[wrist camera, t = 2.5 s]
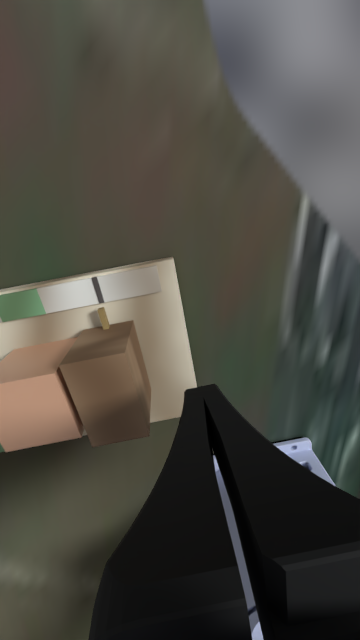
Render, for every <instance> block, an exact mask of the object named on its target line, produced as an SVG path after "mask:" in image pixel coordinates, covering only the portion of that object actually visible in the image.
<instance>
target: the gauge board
mask: <svg viewBox="0 0 360 640" xmlns="http://www.w3.org/2000/svg"><path fill="white" fill-rule="evenodd" d="M101 307H104V308H105V311H106V315H107V318H108V321H109V325H110V324H116V323H121V322H126V321H131V320H133V321H134V325H135V329H136V333H137V336H138V340H139V344H140V348H141V352H142V355H143V359H144V363H145V367H146V370H147V374H148V378H149V382H150V386H151V410H150V423H151V422H156V421H161V420H166V419H171V418H176V417H181V414H182V409H183V403H184V392H185V390H186V389H191V388H196V387H197V384H196V379H195V373H194V368H193V362H192V357H191V352H190V346H189V341H188V335H187V330H186V324H185V319H184V313H183V308H182V302H181V297H180V291H179V286H178V281H177V275H176V270H175V264H174V259H173V257H168V258H162V259H157V260H152V261H147V262H142V263H136V264H131V265H126V266H121V267H115V268H110V269H105V270H100V271H95V272H89V273H84V274H79V275H74V276H69V277H63V278H58V279H53V280H48V281H42V282H37V283H32V284H27V285H22V286H16V287H11V288H6V289H1V290H0V361H2V360H3V359H4V358H5V357H6V356H7V355H8V354H9V353H10V352H12V351H13V350H14V349H18V348H23V347H29V346H34V345H39V344H44V343H49V342H54V341H60V340H65V339H70V338H75V337H79V335H80V334H81V332H82V331H83V330H85V329H90V328H95V327H100V326H102V323H101V320H100V317H99V314H98V311H97V310H98V308H101ZM84 435H87V433H86V430H85V429H84V432H83V435H82V436H84ZM4 451H5V450H4V448H3V447H2V445H1V443H0V452H4Z"/></svg>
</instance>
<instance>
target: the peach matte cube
mask: <svg viewBox="0 0 360 640" xmlns="http://www.w3.org/2000/svg"><path fill="white" fill-rule="evenodd" d="M77 338H78V337H75V338H70V339H65V340H60V341H54V342H49V343H44V344H39V345H34V346H29V347H23V348H18V349H14V350H13V351H12V352H10V353H9V354H8V355H7V356H6V357H5V358H4V359H3V360H2V361H0V443H1V445H2V447H3V448H4V450H5V452H10V451H15V450H20V449H25V448H30V447H35V446H40V445H46V444H51V443H56V442H61V441H66V440H71V439H76V438H81V437H82V435H83V432H84V429H85V428H84V426H83V423H82V421H81V418H80V416H79V413H78V411H77V409H76V406H75V404H74V401H73V399H72V396H71V394H70V391H69V389H68V387H67V384H66V382H65V379H64V377H63V374H62V372H61V369H60V367H59V365H60V363H61V362H62V360H63V359H64V357H65V356H66V354H67V353H68V351H69V350H70V348H71V347H72V345H73V344H74V342H75V341H76V340H77Z"/></svg>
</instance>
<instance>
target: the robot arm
mask: <svg viewBox="0 0 360 640" xmlns="http://www.w3.org/2000/svg"><path fill="white" fill-rule="evenodd" d="M212 448H213V450H212ZM213 451H214V454H215V455H213ZM89 640H360V499H358V498H356V497H354V496H352V495H350V494H349V493H347V492H345V491H343V490H341V489H339V488H337V487H336V486H335V484H334V483H333V481H332V480H331V478H330V477H329V475H328V473H327V472H326V470H325V469H324V467H323V466H322V464H321V463H320V461H319V460H318V458H317V457H316V455H315V454H314V452H313V451H312V443H311V441H310V440H309V439H308V438H300V439H294V440H289V441H284V442H279V443H274V444H272V443H271V442H270V441H269V440H267V439H266V438H265V437H264V436H263V435H262V434H260V433H259V432H258V431H257V430H256V429H255V428H254V427H253V426H252V425H251V424H250V423H249V422H248V421H247V420H246V419H245V418H244V417H243V416H242V415H241V414H240V413H239V412H238V411H237V410H236V409H235V408H234V407H233V406H232V404H231V403H230V402H229V401H228V400H227V398H226V397H225V396H224V395H223V393H222V392H221V391H220V389H219V388H218V386H217V385H215V384H211V385H206V386H201V387H196V388H191V389H186V390H185V392H184V403H183V409H182V414H181V418H180V422H179V426H178V429H177V432H176V435H175V438H174V441H173V444H172V447H171V450H170V453H169V455H168V458H167V460H166V462H165V465H164V467H163V469H162V471H161V473H160V475H159V478H158V480H157V482H156V484H155V486H154V488H153V490H152V492H151V493H150V495H149V497H148V499H147V501H146V502H145V504H144V506H143V507H142V509H141V511H140V513H139V514H138V516H137V518H136V519H135V521H134V523H133V524H132V526H131V527H130V529H129V531H128V532H127V533H126V535H125V536H124V538H123V539H122V541H121V542H120V544H119V545H118V547H117V548H116V550H115V551H114V553H113V554H112V555H111V557H110V558H109V560H108V561H107V563H106V566H105V569H104V572H103V575H102V578H101V582H100V585H99V589H98V593H97V597H96V601H95V605H94V609H93V615H92V621H91V627H90V634H89Z"/></svg>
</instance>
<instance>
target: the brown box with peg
mask: <svg viewBox="0 0 360 640" xmlns="http://www.w3.org/2000/svg"><path fill="white" fill-rule="evenodd" d="M97 311H98V314H99V317H100V320H101V323H102V326H100V327H95V328H90V329H85V330H83V331H82V332H81V334H80V335H79V337H78V338H77V340H76V341H75V342H74V344H73V345H72V347H71V348H70V350H69V351H68V353H67V354H66V356H65V357H64V359H63V360H62V362H61V363H60V365H59V367H60V369H61V372H62V374H63V377H64V379H65V382H66V384H67V387H68V389H69V391H70V394H71V396H72V399H73V401H74V404H75V406H76V409H77V411H78V413H79V416H80V418H81V421H82V423H83V426H84V428H85V430H86V433H87V435H88V438H89V440H90V443H91V445H92V447H97V446H102V445H107V444H112V443H117V442H122V441H127V440H132V439H138V438H143V437H148V436H149V433H150V410H151V386H150V382H149V378H148V374H147V370H146V367H145V363H144V359H143V355H142V352H141V348H140V344H139V340H138V336H137V333H136V329H135V325H134V321H133V320H131V321H126V322H121V323H116V324H110V325H109V321H108V318H107V315H106V311H105V308H104V307H101V308H98V310H97Z"/></svg>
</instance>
